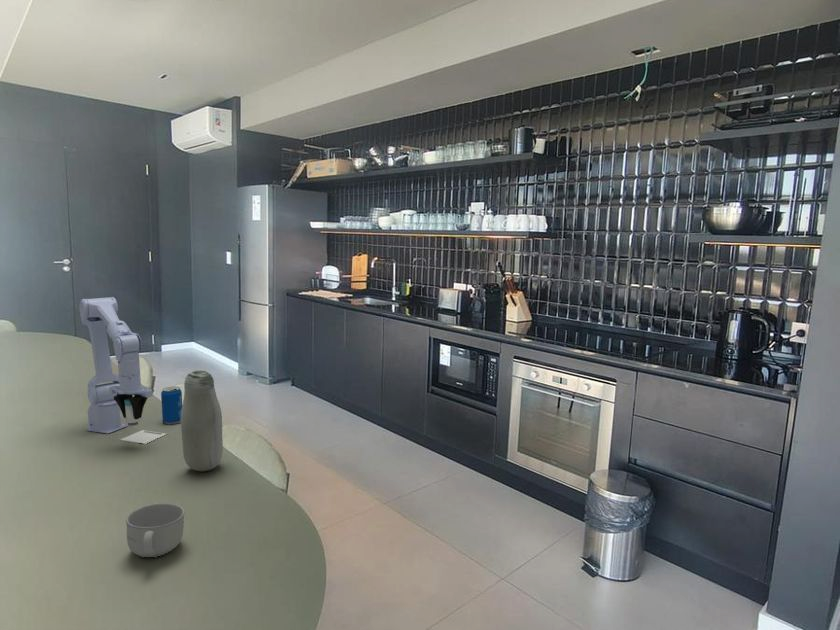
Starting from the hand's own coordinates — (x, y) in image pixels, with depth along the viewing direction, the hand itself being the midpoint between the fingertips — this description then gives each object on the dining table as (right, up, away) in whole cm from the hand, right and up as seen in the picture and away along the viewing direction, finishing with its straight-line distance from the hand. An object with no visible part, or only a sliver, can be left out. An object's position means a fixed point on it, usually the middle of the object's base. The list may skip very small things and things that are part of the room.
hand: (132, 417), depth 165 cm
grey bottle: (+27, -12, -14) cm, 33 cm away
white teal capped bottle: (0, -2, 0) cm, 2 cm away
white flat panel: (-1, -8, +9) cm, 12 cm away
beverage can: (+2, -6, +24) cm, 24 cm away
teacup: (+34, -18, -54) cm, 66 cm away
